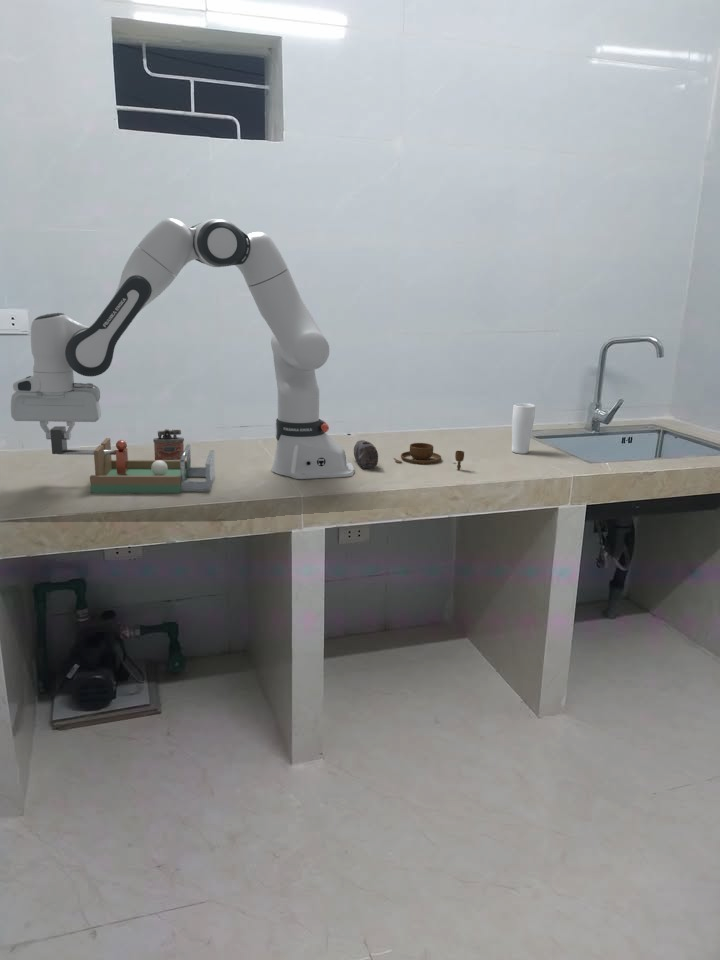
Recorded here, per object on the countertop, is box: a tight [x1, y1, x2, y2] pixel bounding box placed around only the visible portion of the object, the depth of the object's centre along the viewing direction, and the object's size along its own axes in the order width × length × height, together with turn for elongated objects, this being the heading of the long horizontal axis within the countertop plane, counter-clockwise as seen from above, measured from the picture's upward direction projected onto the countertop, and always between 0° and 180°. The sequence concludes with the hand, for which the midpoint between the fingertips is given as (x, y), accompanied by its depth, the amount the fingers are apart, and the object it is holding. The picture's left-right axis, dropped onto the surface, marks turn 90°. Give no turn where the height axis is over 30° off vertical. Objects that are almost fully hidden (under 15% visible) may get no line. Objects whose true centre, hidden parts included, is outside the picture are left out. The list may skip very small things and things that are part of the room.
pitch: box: [89, 437, 188, 494], centre depth 185 cm, size 21×16×10 cm
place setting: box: [393, 442, 465, 472], centre depth 215 cm, size 18×20×6 cm
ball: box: [151, 460, 168, 476], centre depth 186 cm, size 4×4×4 cm
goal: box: [180, 443, 216, 493], centre depth 187 cm, size 7×14×8 cm, turn 6°
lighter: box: [153, 428, 185, 460], centre depth 203 cm, size 8×3×10 cm, turn 105°
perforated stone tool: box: [353, 439, 379, 469], centre depth 212 cm, size 15×5×7 cm, turn 13°
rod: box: [50, 425, 129, 474], centre depth 183 cm, size 17×4×11 cm, turn 96°
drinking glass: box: [511, 402, 536, 455], centre depth 231 cm, size 7×7×15 cm
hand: (58, 439), depth 181 cm, fingers closed on rod, 2 cm apart
